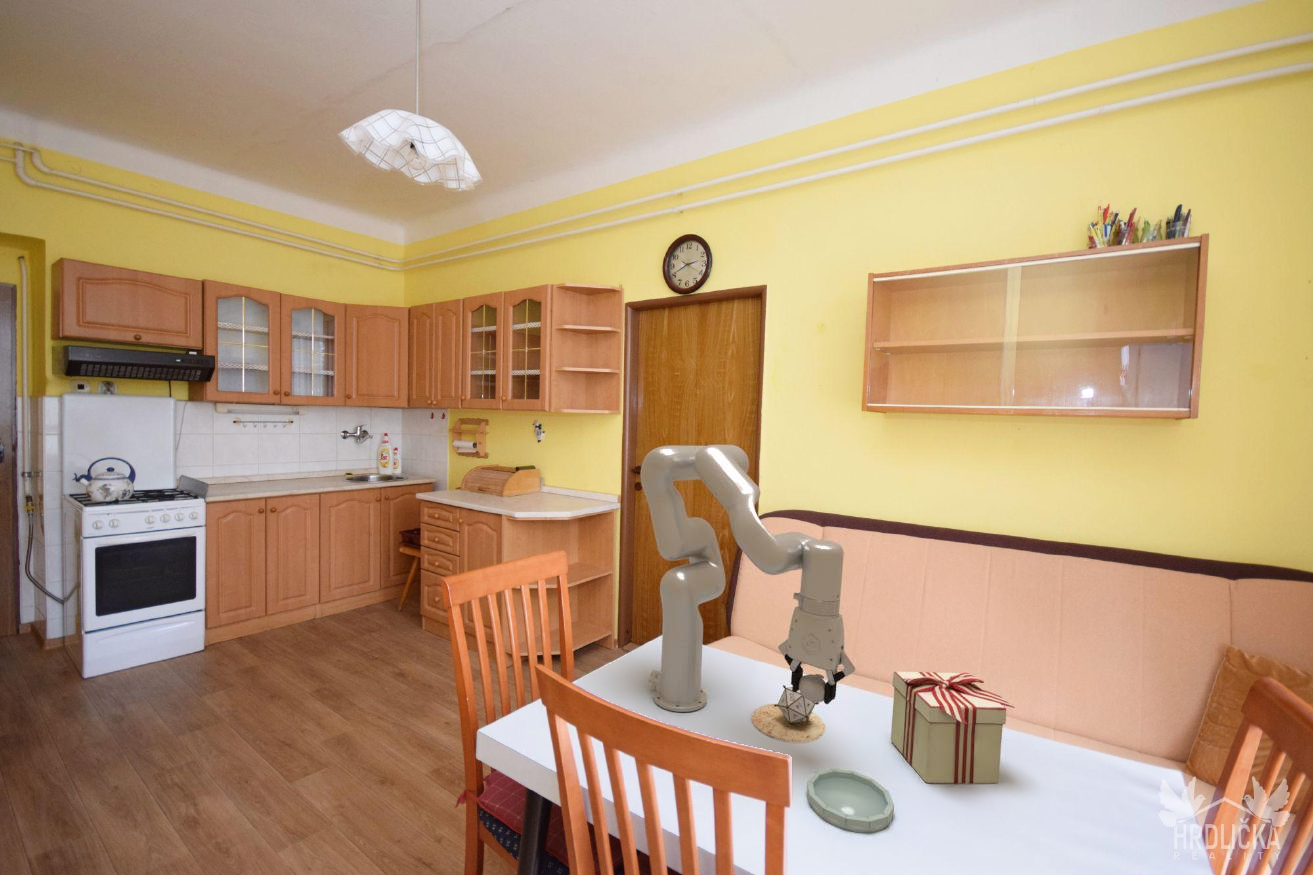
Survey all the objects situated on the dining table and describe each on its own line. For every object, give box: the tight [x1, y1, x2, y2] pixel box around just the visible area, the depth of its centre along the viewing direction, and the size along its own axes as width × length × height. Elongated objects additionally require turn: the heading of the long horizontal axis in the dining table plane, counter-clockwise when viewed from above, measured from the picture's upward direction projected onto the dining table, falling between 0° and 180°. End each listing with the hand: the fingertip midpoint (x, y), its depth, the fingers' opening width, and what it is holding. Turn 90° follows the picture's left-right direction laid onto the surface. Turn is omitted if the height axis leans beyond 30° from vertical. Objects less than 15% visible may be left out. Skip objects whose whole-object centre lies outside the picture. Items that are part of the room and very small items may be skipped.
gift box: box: [890, 671, 1016, 785], centre depth 113 cm, size 17×18×17 cm
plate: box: [806, 767, 895, 834], centre depth 100 cm, size 14×14×2 cm
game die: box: [773, 684, 820, 726], centre depth 128 cm, size 9×8×10 cm
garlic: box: [799, 673, 827, 704], centre depth 113 cm, size 6×5×5 cm
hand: (812, 694), depth 113 cm, fingers closed on garlic, 5 cm apart
